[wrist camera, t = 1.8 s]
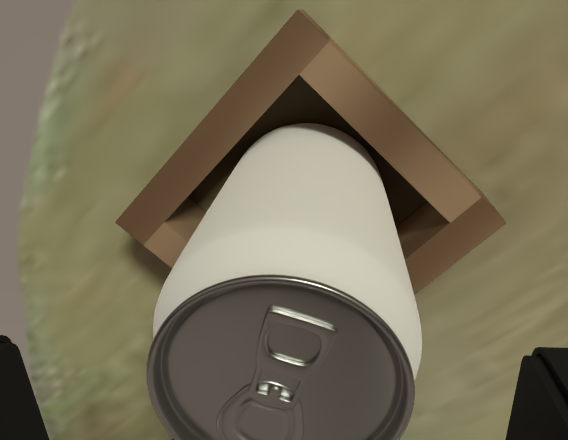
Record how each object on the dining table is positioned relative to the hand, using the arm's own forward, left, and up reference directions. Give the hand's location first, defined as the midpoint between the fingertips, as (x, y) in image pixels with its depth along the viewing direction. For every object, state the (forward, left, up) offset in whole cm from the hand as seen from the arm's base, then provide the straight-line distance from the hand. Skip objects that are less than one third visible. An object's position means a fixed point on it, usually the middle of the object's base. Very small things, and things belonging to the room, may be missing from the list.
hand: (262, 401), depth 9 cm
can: (-1, 0, -13) cm, 13 cm away
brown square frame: (-1, 0, -13) cm, 13 cm away
